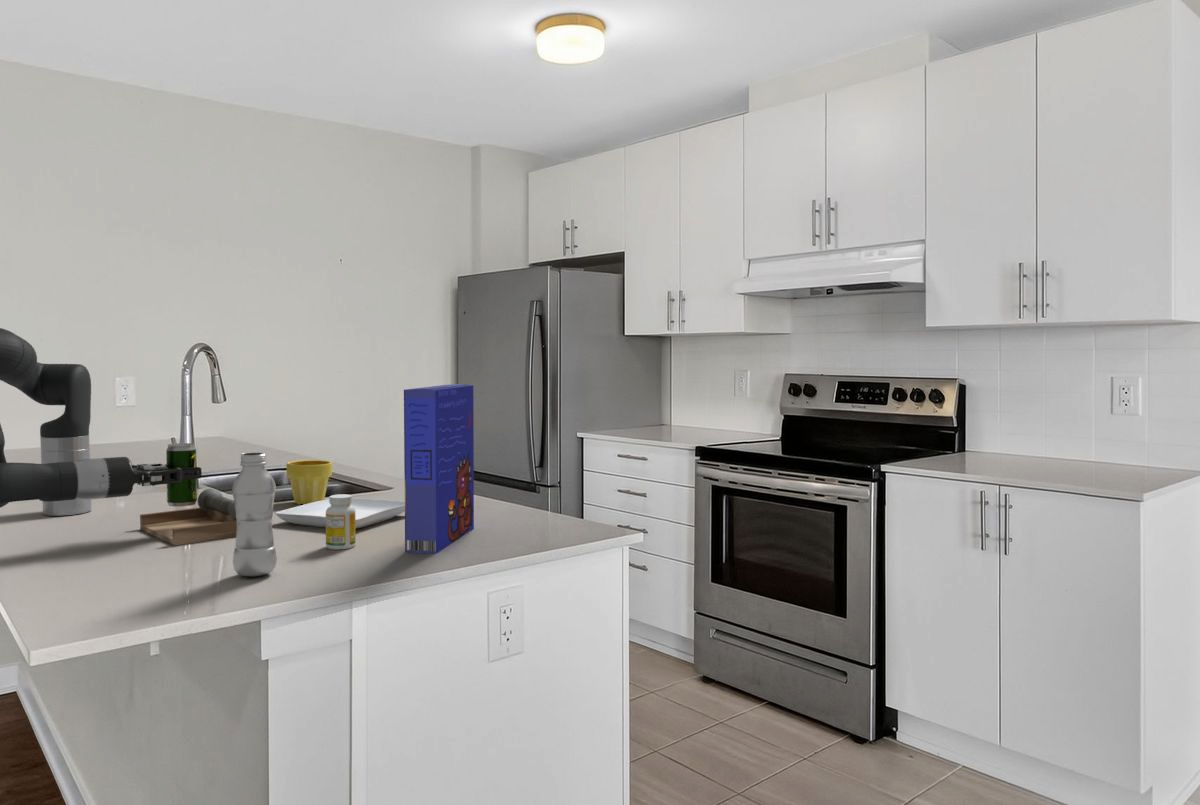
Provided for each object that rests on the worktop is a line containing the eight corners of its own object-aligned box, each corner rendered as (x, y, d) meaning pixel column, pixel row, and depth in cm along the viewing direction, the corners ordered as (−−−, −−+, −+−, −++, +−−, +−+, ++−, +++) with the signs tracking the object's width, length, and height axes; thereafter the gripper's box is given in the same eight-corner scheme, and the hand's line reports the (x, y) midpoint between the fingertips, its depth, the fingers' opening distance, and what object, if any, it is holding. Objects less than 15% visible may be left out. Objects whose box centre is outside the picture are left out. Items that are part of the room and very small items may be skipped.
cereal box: (446, 527, 177) (445, 383, 175) (473, 528, 176) (473, 383, 174) (405, 552, 156) (403, 388, 154) (436, 553, 155) (435, 388, 153)
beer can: (168, 507, 166) (168, 446, 165) (165, 503, 170) (164, 443, 170) (198, 505, 169) (198, 445, 168) (194, 501, 173) (194, 442, 173)
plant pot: (339, 499, 209) (338, 459, 209) (321, 507, 199) (321, 465, 199) (299, 498, 210) (298, 459, 210) (279, 505, 200) (278, 464, 200)
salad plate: (272, 527, 179) (271, 510, 178) (339, 509, 198) (338, 494, 198) (355, 536, 171) (354, 519, 170) (415, 516, 190) (415, 501, 190)
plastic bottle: (240, 570, 142) (238, 451, 141) (282, 570, 143) (280, 451, 141) (227, 581, 136) (224, 456, 134) (270, 580, 136) (268, 456, 135)
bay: (140, 529, 174) (139, 495, 173) (220, 518, 185) (219, 486, 185) (175, 545, 160) (174, 508, 159) (259, 533, 171) (258, 498, 170)
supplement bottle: (334, 551, 156) (333, 499, 155) (320, 546, 160) (320, 495, 159) (361, 546, 160) (360, 496, 159) (347, 542, 163) (347, 492, 163)
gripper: (112, 461, 154) (208, 455, 166) (89, 455, 164) (182, 449, 176) (112, 503, 154) (209, 493, 166) (90, 493, 164) (182, 485, 176)
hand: (194, 471), depth 171 cm, fingers closed on beer can, 5 cm apart
